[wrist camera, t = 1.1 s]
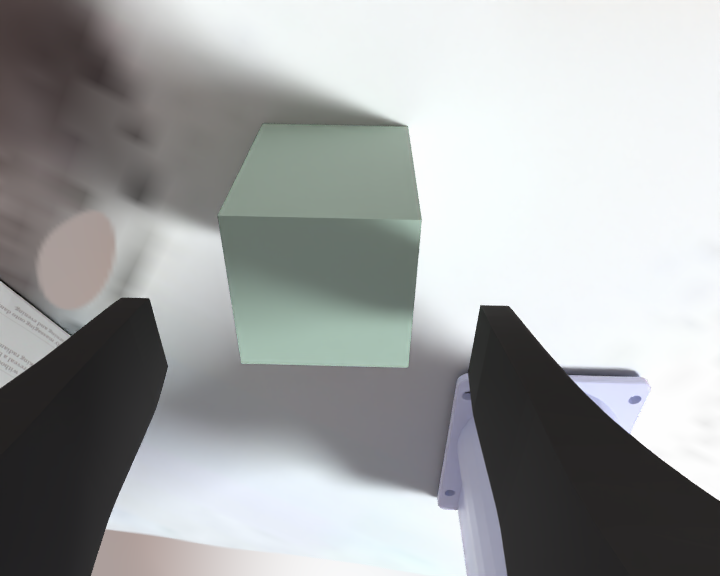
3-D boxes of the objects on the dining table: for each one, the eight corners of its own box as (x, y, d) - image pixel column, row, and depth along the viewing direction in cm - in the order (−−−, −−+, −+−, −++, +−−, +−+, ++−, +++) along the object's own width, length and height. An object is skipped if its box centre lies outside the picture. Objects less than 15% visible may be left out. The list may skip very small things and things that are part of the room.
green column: (399, 249, 19) (408, 367, 14) (274, 246, 19) (241, 363, 15) (407, 125, 17) (421, 220, 12) (262, 123, 17) (217, 215, 12)
